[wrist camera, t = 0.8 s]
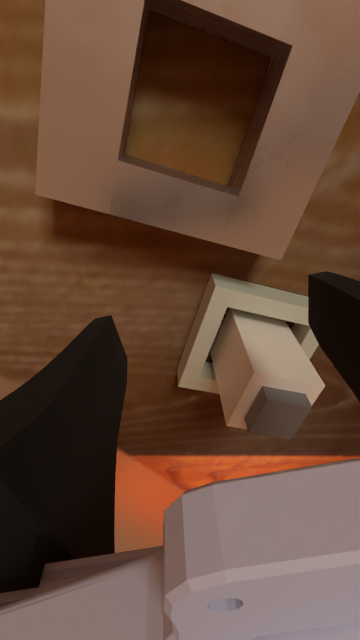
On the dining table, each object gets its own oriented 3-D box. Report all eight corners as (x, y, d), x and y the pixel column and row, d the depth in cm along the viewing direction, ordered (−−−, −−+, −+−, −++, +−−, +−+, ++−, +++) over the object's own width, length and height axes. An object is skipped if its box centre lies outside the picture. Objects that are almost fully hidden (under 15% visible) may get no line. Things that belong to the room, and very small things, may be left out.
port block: (361, 18, 15) (408, -5, 12) (265, 243, 20) (282, 262, 18) (76, -108, 13) (51, -174, 10) (53, 184, 18) (33, 195, 15)
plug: (283, 318, 24) (333, 399, 17) (260, 362, 26) (296, 450, 19) (229, 306, 23) (259, 385, 16) (210, 352, 25) (229, 440, 18)
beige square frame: (323, 300, 23) (336, 315, 21) (273, 387, 27) (281, 405, 25) (211, 272, 21) (215, 285, 20) (176, 368, 25) (178, 386, 24)
